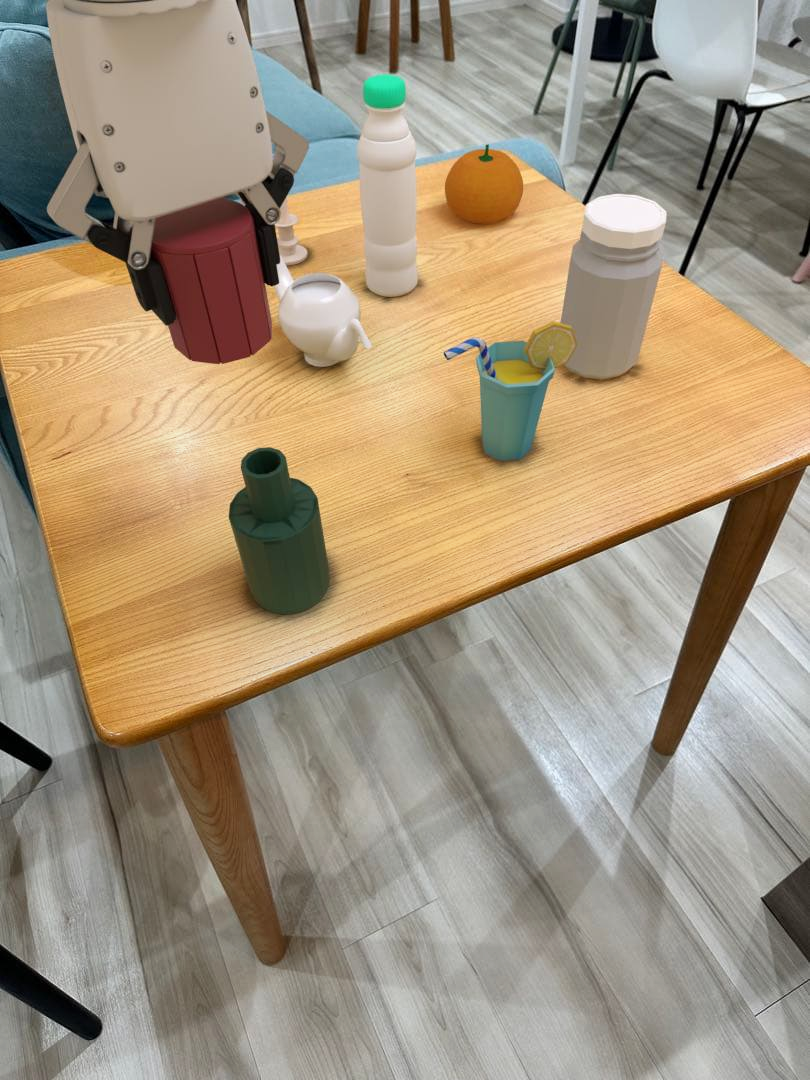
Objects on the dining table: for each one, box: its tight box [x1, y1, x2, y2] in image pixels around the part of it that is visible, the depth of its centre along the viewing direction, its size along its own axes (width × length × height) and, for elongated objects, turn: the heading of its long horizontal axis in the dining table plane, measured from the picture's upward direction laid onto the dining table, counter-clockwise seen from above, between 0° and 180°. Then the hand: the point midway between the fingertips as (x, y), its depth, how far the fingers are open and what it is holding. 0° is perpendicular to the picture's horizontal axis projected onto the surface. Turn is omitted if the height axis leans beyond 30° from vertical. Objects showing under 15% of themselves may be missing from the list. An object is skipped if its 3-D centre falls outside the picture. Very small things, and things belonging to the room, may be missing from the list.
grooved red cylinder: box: [150, 197, 273, 365], centre depth 48 cm, size 7×7×8 cm
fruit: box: [444, 144, 524, 225], centre depth 110 cm, size 12×12×10 cm
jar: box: [560, 193, 667, 381], centre depth 82 cm, size 10×10×18 cm
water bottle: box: [356, 73, 419, 298], centre depth 92 cm, size 7×7×25 cm
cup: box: [443, 320, 578, 462], centre depth 74 cm, size 14×8×15 cm, turn 118°
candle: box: [275, 196, 309, 266], centre depth 103 cm, size 5×5×10 cm
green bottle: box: [228, 446, 331, 615], centre depth 62 cm, size 7×7×15 cm
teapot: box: [273, 253, 373, 368], centre depth 87 cm, size 10×20×9 cm, turn 38°
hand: (214, 293), depth 49 cm, fingers closed on grooved red cylinder, 6 cm apart
